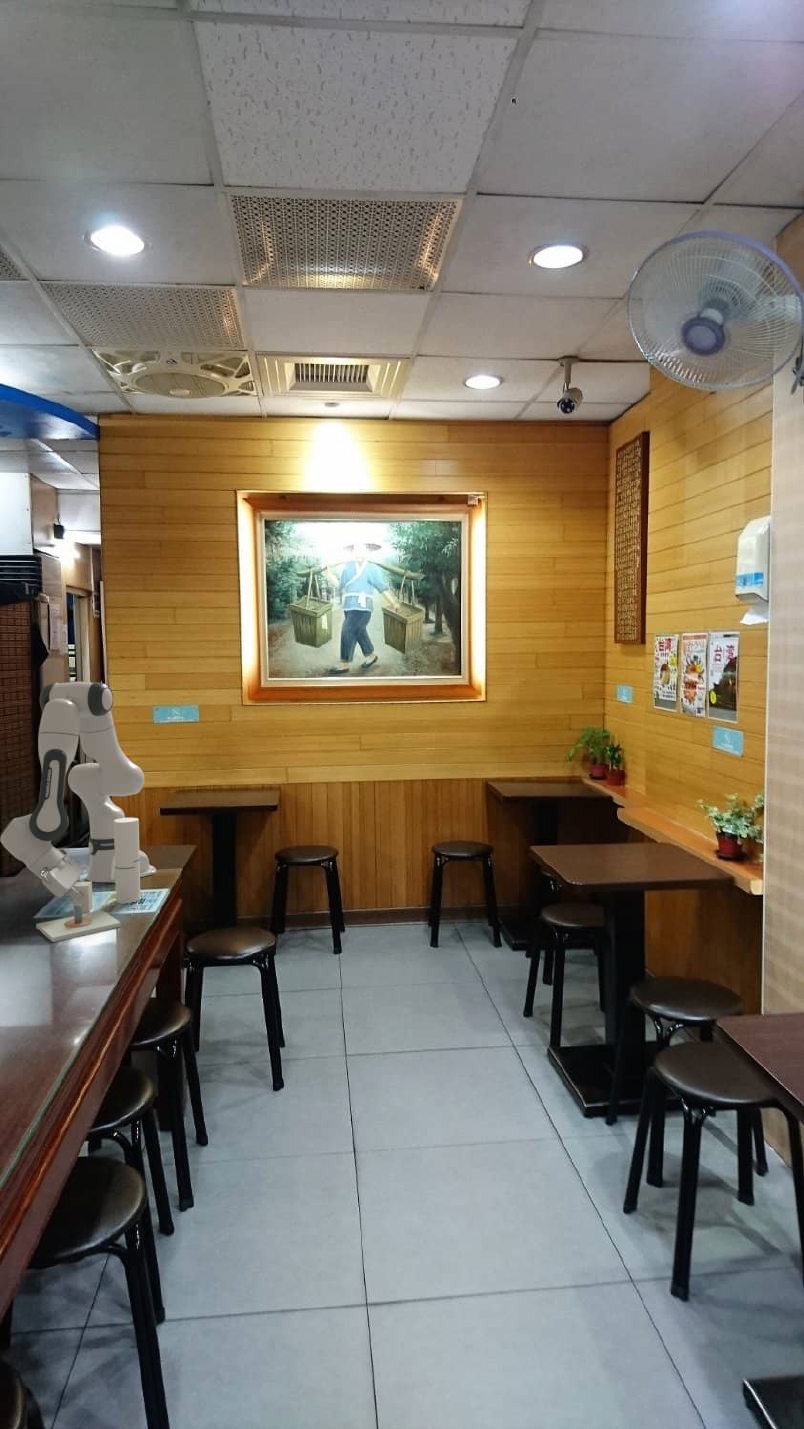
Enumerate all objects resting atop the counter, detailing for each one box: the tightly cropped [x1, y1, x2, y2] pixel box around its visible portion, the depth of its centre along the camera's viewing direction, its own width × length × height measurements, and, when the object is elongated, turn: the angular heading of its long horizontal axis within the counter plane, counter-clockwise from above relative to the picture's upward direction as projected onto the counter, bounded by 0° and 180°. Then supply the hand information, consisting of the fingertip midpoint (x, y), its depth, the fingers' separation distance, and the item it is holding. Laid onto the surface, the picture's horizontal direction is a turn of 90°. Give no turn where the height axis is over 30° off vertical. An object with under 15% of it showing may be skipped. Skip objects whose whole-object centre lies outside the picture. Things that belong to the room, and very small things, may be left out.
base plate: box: [35, 904, 122, 943], centre depth 215 cm, size 18×14×6 cm
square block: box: [72, 881, 93, 914], centre depth 229 cm, size 4×4×8 cm
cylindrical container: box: [114, 817, 141, 904], centre depth 238 cm, size 7×7×25 cm
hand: (84, 895), depth 229 cm, fingers open, 5 cm apart
